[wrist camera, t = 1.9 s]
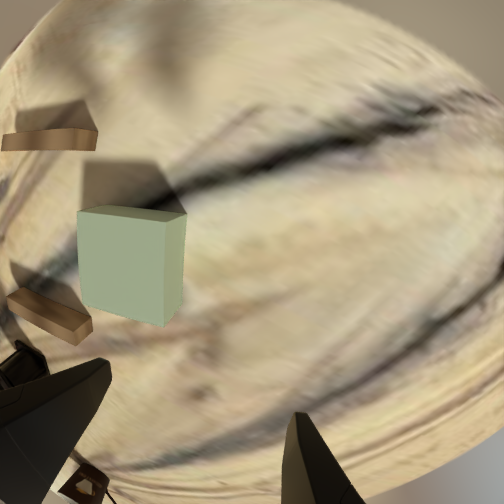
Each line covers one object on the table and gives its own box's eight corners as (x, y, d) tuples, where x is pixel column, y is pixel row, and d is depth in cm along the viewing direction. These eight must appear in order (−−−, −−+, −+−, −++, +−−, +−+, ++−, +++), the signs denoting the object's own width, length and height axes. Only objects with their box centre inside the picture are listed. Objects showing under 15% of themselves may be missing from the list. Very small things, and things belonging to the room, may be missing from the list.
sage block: (109, 285, 22) (82, 304, 18) (108, 204, 20) (77, 211, 16) (183, 302, 21) (163, 327, 18) (188, 213, 19) (166, 222, 16)
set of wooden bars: (-14, 276, 24) (-28, 283, 22) (-15, 140, 20) (-32, 141, 17) (92, 331, 23) (75, 346, 20) (98, 131, 18) (74, 127, 15)
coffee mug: (72, 460, 35) (51, 490, 25) (87, 459, 33) (65, 494, 23) (113, 491, 37) (97, 521, 27) (133, 492, 35) (117, 527, 25)
